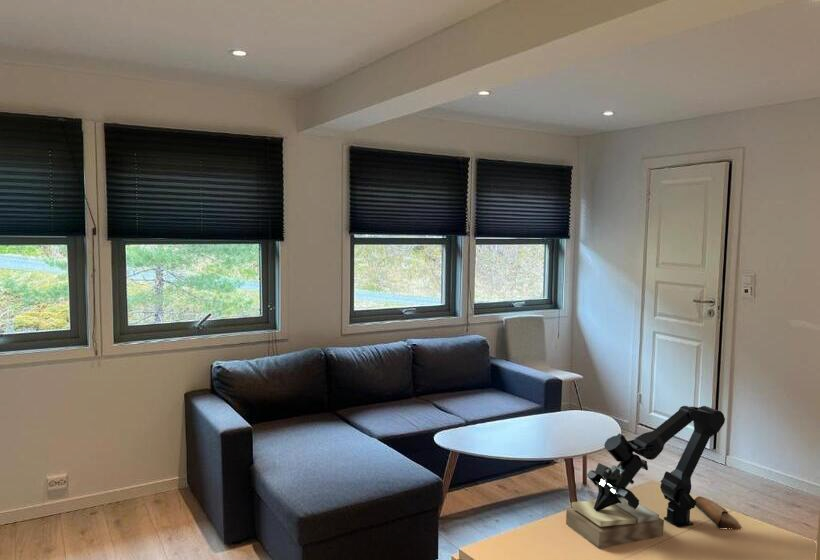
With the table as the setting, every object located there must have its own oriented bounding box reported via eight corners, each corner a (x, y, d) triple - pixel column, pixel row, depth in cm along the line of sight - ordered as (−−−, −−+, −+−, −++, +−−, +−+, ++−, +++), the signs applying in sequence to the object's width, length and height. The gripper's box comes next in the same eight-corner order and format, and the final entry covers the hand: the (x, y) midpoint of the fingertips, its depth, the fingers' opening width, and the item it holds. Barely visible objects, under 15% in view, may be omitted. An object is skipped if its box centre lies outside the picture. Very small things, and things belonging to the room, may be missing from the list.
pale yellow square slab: (604, 504, 192) (605, 499, 192) (635, 523, 179) (635, 518, 179) (571, 506, 187) (571, 502, 187) (600, 526, 174) (600, 521, 174)
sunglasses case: (745, 529, 187) (735, 511, 187) (725, 540, 188) (715, 522, 187) (717, 505, 205) (708, 488, 205) (699, 514, 206) (690, 498, 205)
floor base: (626, 514, 197) (627, 494, 196) (663, 536, 182) (664, 515, 181) (565, 524, 188) (566, 504, 188) (598, 548, 173) (599, 527, 173)
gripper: (592, 445, 192) (562, 482, 188) (633, 465, 174) (600, 506, 171) (611, 466, 195) (581, 503, 192) (653, 488, 178) (621, 529, 174)
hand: (595, 510), depth 182 cm, fingers closed, pressing on pale yellow square slab
